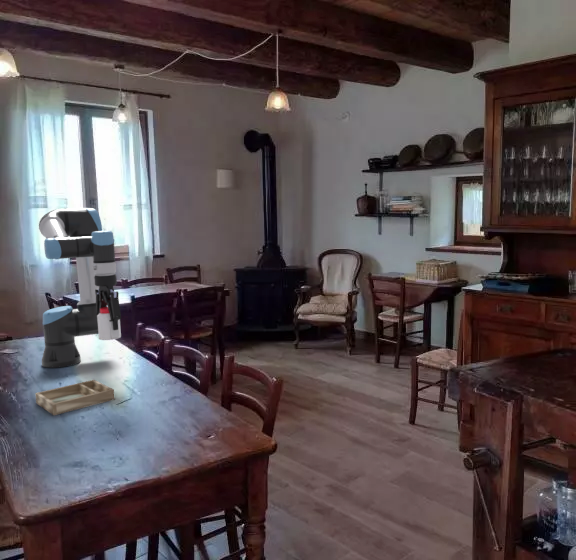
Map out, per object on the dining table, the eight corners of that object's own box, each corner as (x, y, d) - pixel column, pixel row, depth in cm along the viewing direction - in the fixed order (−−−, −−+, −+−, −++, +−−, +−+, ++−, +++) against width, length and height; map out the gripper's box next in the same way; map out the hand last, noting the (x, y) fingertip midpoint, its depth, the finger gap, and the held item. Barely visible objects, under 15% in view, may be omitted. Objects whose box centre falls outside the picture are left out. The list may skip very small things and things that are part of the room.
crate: (36, 403, 188) (35, 393, 187) (94, 389, 201) (93, 379, 200) (53, 415, 176) (52, 404, 175) (114, 399, 189) (113, 389, 189)
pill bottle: (94, 339, 203) (91, 309, 202) (109, 334, 210) (107, 305, 209) (110, 340, 200) (107, 310, 199) (125, 336, 207) (123, 306, 205)
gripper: (82, 273, 207) (87, 334, 210) (108, 277, 192) (113, 343, 195) (102, 271, 212) (106, 331, 215) (128, 275, 197) (133, 339, 200)
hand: (109, 336), depth 205 cm, fingers closed on pill bottle, 8 cm apart
